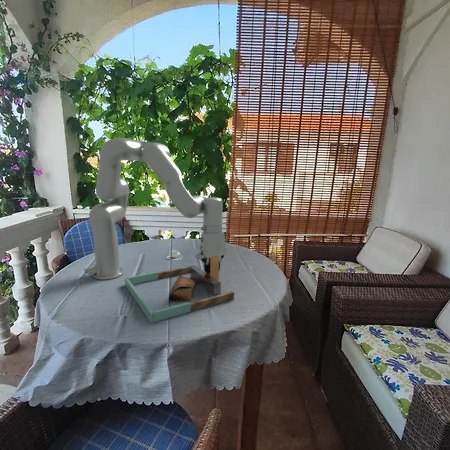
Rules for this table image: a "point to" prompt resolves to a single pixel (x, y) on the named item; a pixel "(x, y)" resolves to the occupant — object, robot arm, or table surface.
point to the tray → (147, 310)
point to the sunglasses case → (183, 290)
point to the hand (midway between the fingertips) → (212, 270)
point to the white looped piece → (174, 254)
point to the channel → (199, 303)
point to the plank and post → (208, 276)
